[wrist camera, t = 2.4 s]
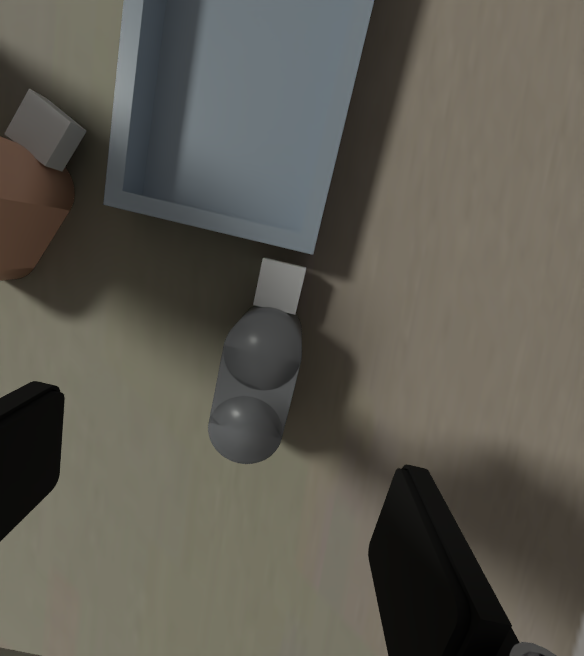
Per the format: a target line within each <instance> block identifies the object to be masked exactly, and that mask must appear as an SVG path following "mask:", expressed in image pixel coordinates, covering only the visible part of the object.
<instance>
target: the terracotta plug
mask: <svg viewBox="0 0 584 656" xmlns="http://www.w3.org/2000/svg"><path fill="white" fill-rule="evenodd" d="M85 133H86V130H85V129H84V128H83V127H81V126H80V125H79V124H78V123H77V122H75V121H74V120H73V119H72V118H70V117H69V116H68V115H67V114H65V113H64V112H63V111H62V110H61V109H59V108H58V107H57V106H56V105H54V104H53V103H52V102H51V101H50V100H48V99H47V98H45V97H43V96H42V95H40V94H38V93H36V92H35V91H33V90H31V89H30V88H29V90H28V92H27V93H26V95H25V97H24V99H23V101H22V103H21V104H20V106H19V108H18V110H17V112H16V113H15V115H14V117H13V119H12V121H11V123H10V124H9V126H8V128H7V130H6V132H5V133H4V134H5V135H6V136H8V137H9V138H10V139H11V140H13V141H11V140H8V139H6V138H3V137H1V136H0V281H3V280H13V279H19V278H23V277H25V276H27V275H28V274H29V273H30V272H31V271H32V270H33V269H34V267H35V266H36V264H37V263H38V261H39V259H40V258H41V256H42V255H43V253H44V251H45V250H46V248H47V247H48V245H49V243H50V242H51V240H52V239H53V237H54V235H55V234H56V232H57V231H58V229H59V227H60V226H61V224H62V222H63V221H64V219H65V218H66V216H67V214H68V213H69V211H70V210H71V208H72V205H73V202H74V196H75V189H74V184H73V180H72V178H71V175H70V174H69V172H68V170H67V169H66V167H65V166H66V165H67V163H68V161H69V160H70V158H71V156H72V155H73V153H74V151H75V150H76V148H77V146H78V145H79V143H80V141H81V140H82V138H83V136H84V135H85Z"/></svg>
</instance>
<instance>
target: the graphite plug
mask: <svg viewBox="0 0 584 656" xmlns="http://www.w3.org/2000/svg"><path fill="white" fill-rule="evenodd" d="M305 272H306V267H304V266H299V265H295V264H291V263H287V262H283V261H278V260H274V259H270V258H266V257H265V258H263V260H262V265H261V269H260V274H259V279H258V284H257V289H256V293H255V298H254V303H253V305H254V306H252V307H251V308H250V309H249V310H248V311H247V312H246V313H245V314H244V315H243V316H242V318H241V319H240V320H239V321H238V322H237V323H236V324H235V325H234V327H233V328H232V329H231V330H230V332H229V333H228V335H227V337H226V339H225V343H224V347H223V352H222V357H221V362H220V368H219V373H218V378H217V383H216V388H215V393H214V399H213V404H212V409H211V414H210V419H209V425H208V432H209V437H210V440H211V442H212V444H213V446H214V447H215V449H216V450H217V451H218V452H219V453H220V454H221V455H222V456H224V457H225V458H227V459H229V460H231V461H233V462H237V463H242V464H252V463H257V462H260V461H263V460H265V459H267V458H268V457H270V456H271V455H272V454H273V453H274V452H275V451H276V450H277V448H278V447H279V445H280V442H281V439H282V435H283V431H284V427H285V423H286V419H287V415H288V411H289V407H290V403H291V399H292V395H293V391H294V387H295V383H296V379H297V375H298V371H299V367H300V363H301V358H302V327H301V323H300V320H299V318H298V316H297V314H296V310H297V305H298V301H299V297H300V293H301V289H302V284H303V280H304V276H305Z"/></svg>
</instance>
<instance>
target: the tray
mask: <svg viewBox="0 0 584 656" xmlns="http://www.w3.org/2000/svg"><path fill="white" fill-rule="evenodd" d="M373 4H374V0H124V4H123V14H122V24H121V34H120V44H119V54H118V64H117V74H116V84H115V94H114V104H113V114H112V124H111V134H110V144H109V154H108V164H107V174H106V184H105V194H104V204H103V205H107V206H111V207H115V208H119V209H124V210H128V211H132V212H136V213H140V214H144V215H149V216H153V217H157V218H161V219H165V220H170V221H174V222H178V223H182V224H186V225H191V226H195V227H199V228H203V229H207V230H212V231H216V232H220V233H224V234H228V235H233V236H237V237H241V238H245V239H249V240H254V241H258V242H262V243H266V244H270V245H274V246H279V247H283V248H287V249H291V250H295V251H300V252H304V253H308V254H312V255H313V253H314V249H315V244H316V240H317V236H318V232H319V228H320V224H321V219H322V215H323V211H324V207H325V203H326V199H327V195H328V190H329V186H330V182H331V178H332V174H333V170H334V166H335V161H336V157H337V153H338V149H339V145H340V141H341V136H342V132H343V128H344V124H345V120H346V116H347V112H348V107H349V103H350V99H351V95H352V91H353V87H354V82H355V78H356V74H357V70H358V66H359V62H360V58H361V53H362V49H363V45H364V41H365V37H366V33H367V29H368V24H369V20H370V16H371V12H372V8H373Z"/></svg>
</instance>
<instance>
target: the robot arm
mask: <svg viewBox="0 0 584 656" xmlns="http://www.w3.org/2000/svg"><path fill="white" fill-rule="evenodd" d="M63 414H64V394H63V393H61V392H60V389H59V387H57V386H55V385H51V384H46V383H42V382H37V381H33V382H30V383H28V384H26V385H24V386H22V387H21V388H19V389H17V390H15V391H13V392H11V393H9V394H7V395H5V396H3V397H1V398H0V541H1V540H2V539H3V538H4V537H5V536H6V535H7V534H8V533H9V532H10V531H11V530H12V529H13V528H14V527H15V526H16V525H17V524H18V523H19V522H21V521H22V520H23V519H24V518H25V517H26V516H27V515H28V514H29V513H30V512H31V511H32V510H33V509H34V508H35V507H36V506H37V505H38V504H39V503H40V502H41V501H42V500H43V499H44V498H45V497H46V496H47V495H48V494H49V493H50V492H51V491H52V490H53V488H54V487H55V485H56V484H57V482H58V479H59V475H60V460H61V445H62V430H63ZM368 556H369V563H370V567H371V572H372V577H373V582H374V587H375V592H376V597H377V602H378V607H379V612H380V617H381V622H382V626H383V631H384V636H385V641H386V646H387V651H388V656H556V655H555V654H553V653H552V652H550V651H549V650H547V649H546V648H543V647H541V646H538V645H536V644H534V643H527V642H521V643H519V641H518V639H517V637H516V635H515V633H514V631H513V630H512V628H511V627H512V625H511V623H510V621H509V619H508V617H507V615H506V614H505V612H504V610H503V608H502V606H501V604H500V603H499V601H498V599H497V597H496V595H495V593H494V591H493V590H492V588H491V586H490V584H489V582H488V580H487V578H486V577H485V575H484V573H483V571H482V569H481V567H480V565H479V564H478V562H477V560H476V558H475V556H474V554H473V552H472V551H471V549H470V547H469V545H468V543H467V541H466V540H465V538H464V536H463V534H462V532H461V530H460V528H459V527H458V525H457V523H456V521H455V519H454V517H453V515H452V514H451V512H450V510H449V508H448V506H447V504H446V502H445V501H444V499H443V497H442V495H441V493H440V491H439V489H438V488H437V486H436V484H435V482H434V480H433V478H432V476H431V475H430V473H429V471H428V470H427V469H425V468H420V467H416V466H411V465H404V466H403V468H402V469H400V468H398V469H397V470H396V472H395V474H394V477H393V480H392V482H391V485H390V488H389V491H388V493H387V496H386V499H385V502H384V505H383V507H382V510H381V513H380V516H379V518H378V521H377V524H376V527H375V530H374V532H373V535H372V538H371V541H370V544H369V551H368ZM0 656H40V655H35V654H30V653H25V652H20V651H15V650H10V649H5V648H0Z"/></svg>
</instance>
